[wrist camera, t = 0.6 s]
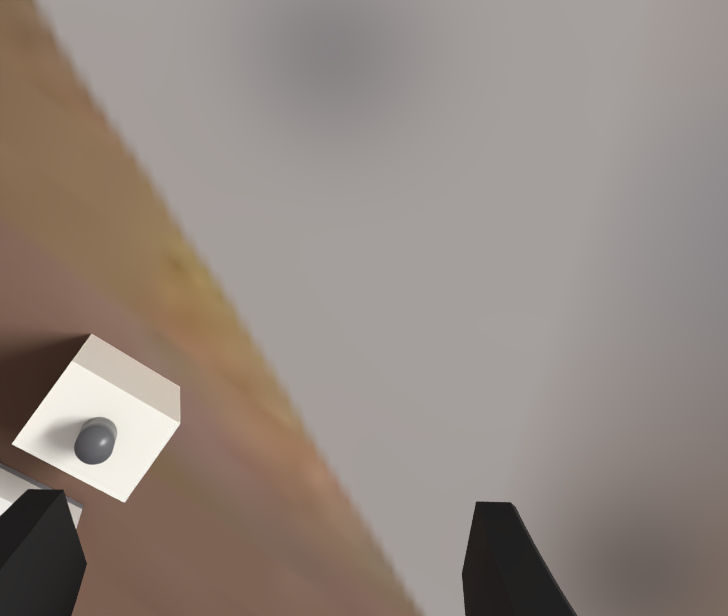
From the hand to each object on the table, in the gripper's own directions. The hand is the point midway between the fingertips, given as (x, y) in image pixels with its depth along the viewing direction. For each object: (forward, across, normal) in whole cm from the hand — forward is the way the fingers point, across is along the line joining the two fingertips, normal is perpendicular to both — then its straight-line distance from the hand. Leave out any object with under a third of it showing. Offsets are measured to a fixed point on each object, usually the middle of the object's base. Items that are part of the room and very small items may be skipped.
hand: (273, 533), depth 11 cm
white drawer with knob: (+17, +10, +12) cm, 23 cm away
